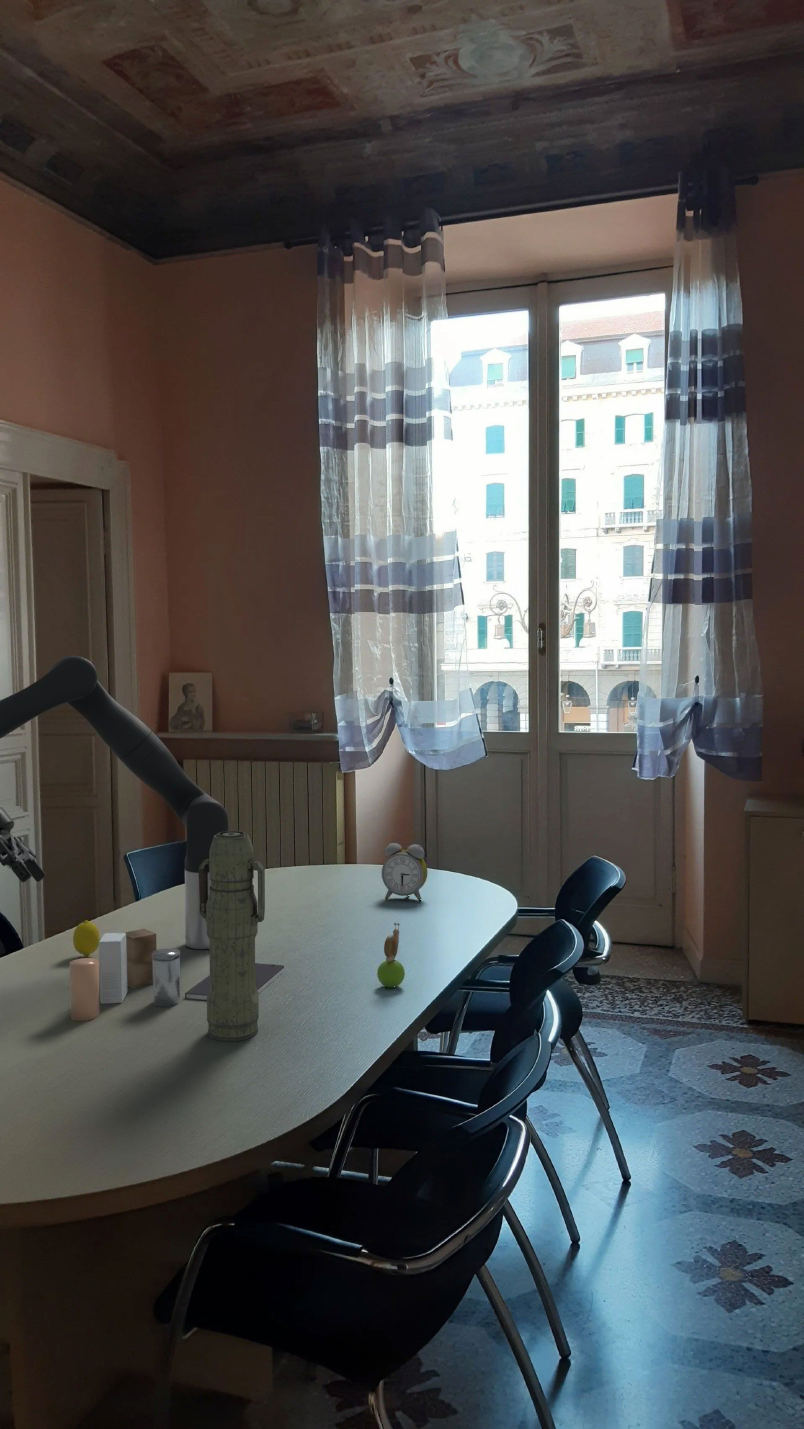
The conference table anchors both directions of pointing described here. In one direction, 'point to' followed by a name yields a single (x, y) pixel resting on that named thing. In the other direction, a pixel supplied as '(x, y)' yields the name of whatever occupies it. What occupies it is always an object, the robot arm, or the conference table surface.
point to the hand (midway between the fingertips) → (35, 879)
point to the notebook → (262, 979)
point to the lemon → (86, 938)
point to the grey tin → (166, 977)
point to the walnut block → (140, 957)
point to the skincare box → (113, 968)
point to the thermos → (232, 934)
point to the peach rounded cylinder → (84, 989)
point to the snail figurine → (391, 962)
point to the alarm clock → (404, 870)
